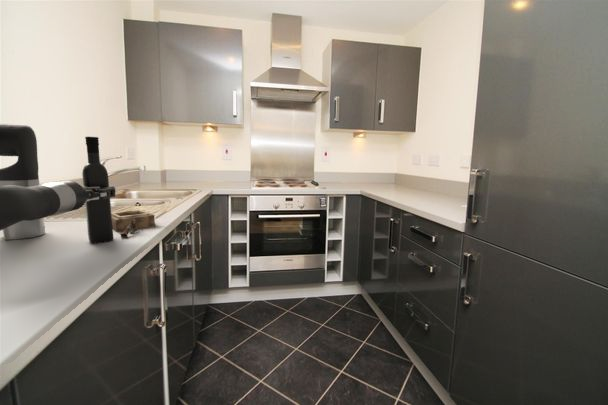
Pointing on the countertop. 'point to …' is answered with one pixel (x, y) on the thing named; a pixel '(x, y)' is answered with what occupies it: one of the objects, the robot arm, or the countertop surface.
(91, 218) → the wine bottle
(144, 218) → the square wooden picture frame
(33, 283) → the countertop surface
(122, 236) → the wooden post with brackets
